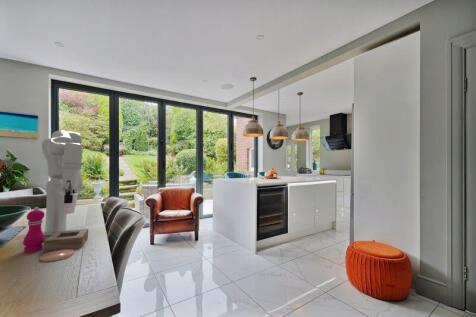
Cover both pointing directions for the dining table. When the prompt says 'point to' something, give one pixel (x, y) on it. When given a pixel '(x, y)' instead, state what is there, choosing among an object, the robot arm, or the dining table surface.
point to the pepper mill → (34, 231)
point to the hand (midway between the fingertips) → (70, 201)
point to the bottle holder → (66, 240)
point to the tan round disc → (56, 255)
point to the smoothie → (70, 204)
